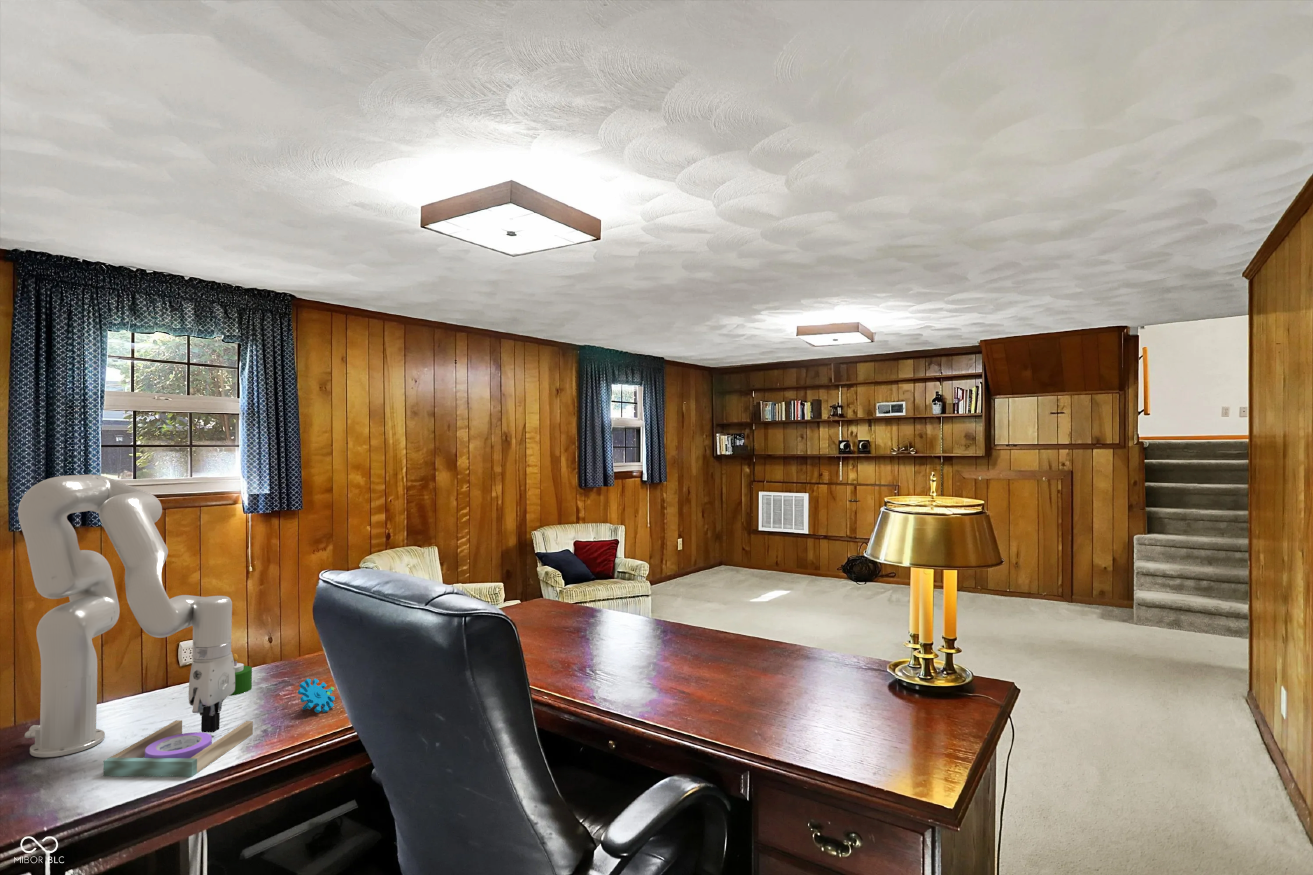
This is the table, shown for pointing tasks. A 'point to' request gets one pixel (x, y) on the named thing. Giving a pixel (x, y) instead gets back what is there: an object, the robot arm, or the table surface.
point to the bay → (135, 765)
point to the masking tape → (179, 746)
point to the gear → (316, 695)
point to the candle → (242, 677)
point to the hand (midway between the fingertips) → (210, 730)
